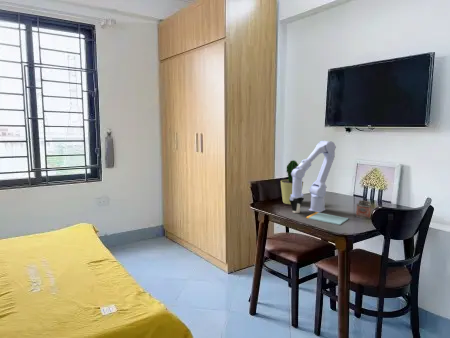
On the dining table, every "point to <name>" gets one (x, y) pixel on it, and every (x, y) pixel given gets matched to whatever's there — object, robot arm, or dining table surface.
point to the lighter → (363, 209)
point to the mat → (327, 218)
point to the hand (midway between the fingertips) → (296, 209)
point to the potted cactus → (288, 182)
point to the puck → (297, 209)
